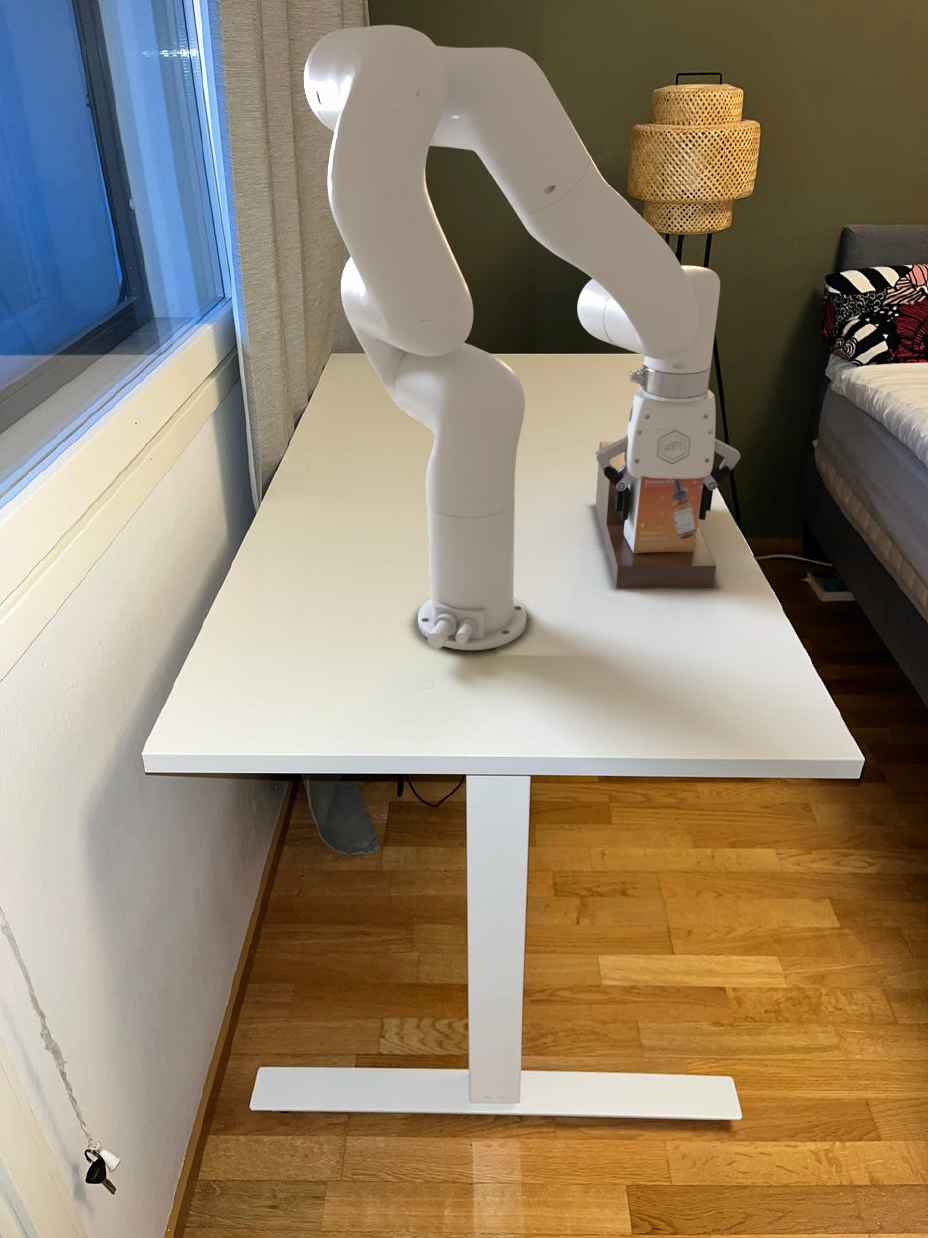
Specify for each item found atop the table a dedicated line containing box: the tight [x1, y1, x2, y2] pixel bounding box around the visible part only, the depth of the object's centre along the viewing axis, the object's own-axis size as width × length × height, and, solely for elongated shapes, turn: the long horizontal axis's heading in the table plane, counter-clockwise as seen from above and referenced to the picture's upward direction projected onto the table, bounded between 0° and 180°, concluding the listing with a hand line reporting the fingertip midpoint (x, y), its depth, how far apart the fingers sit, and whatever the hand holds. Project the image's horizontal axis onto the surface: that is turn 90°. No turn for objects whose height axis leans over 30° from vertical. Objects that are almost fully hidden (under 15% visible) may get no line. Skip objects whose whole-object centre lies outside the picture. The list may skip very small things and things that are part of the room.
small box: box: [624, 476, 704, 553], centre depth 118 cm, size 8×6×10 cm
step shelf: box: [595, 441, 717, 589], centre depth 125 cm, size 24×12×10 cm, turn 179°
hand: (661, 515), depth 118 cm, fingers open, 9 cm apart
